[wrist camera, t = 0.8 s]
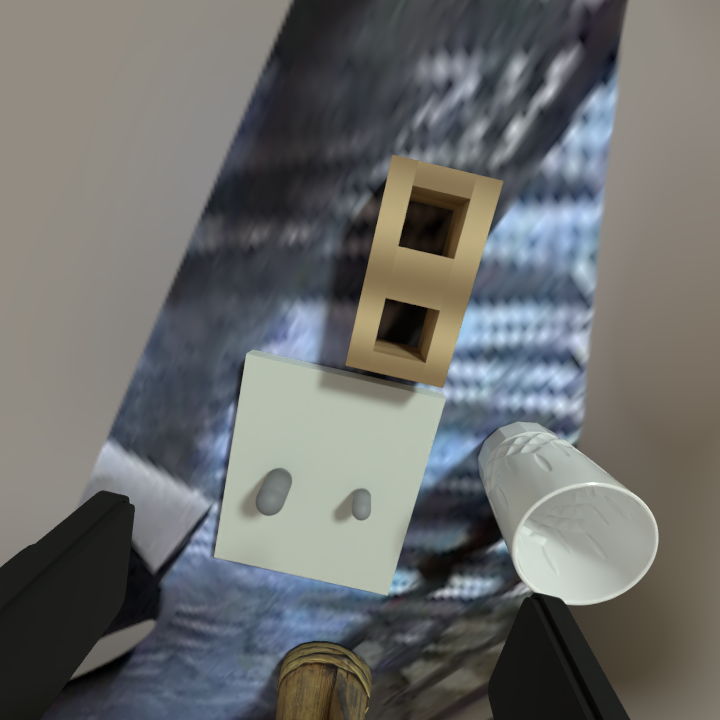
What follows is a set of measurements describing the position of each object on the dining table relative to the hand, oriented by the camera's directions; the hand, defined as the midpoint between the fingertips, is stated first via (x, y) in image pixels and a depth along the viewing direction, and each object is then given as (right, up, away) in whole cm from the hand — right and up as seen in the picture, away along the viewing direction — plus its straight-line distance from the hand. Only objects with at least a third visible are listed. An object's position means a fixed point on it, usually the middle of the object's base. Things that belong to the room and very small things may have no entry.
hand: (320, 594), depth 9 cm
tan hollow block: (+5, +11, +19) cm, 23 cm away
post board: (-2, -4, +23) cm, 23 cm away
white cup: (+14, -3, +22) cm, 26 cm away
